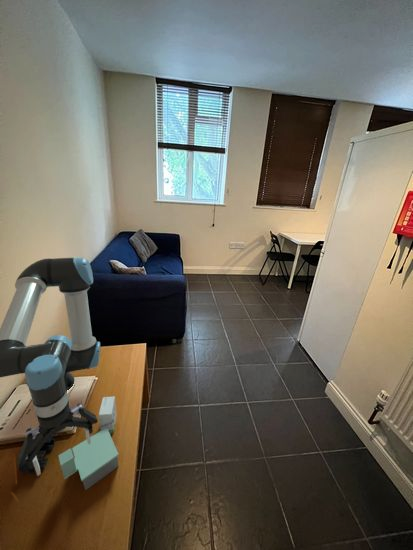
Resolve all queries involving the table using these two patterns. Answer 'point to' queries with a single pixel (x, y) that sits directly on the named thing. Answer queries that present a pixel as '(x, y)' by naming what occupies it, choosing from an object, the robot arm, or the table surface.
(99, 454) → the lid
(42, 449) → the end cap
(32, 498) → the table surface
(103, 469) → the tub
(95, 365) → the robot arm
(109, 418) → the ink box
